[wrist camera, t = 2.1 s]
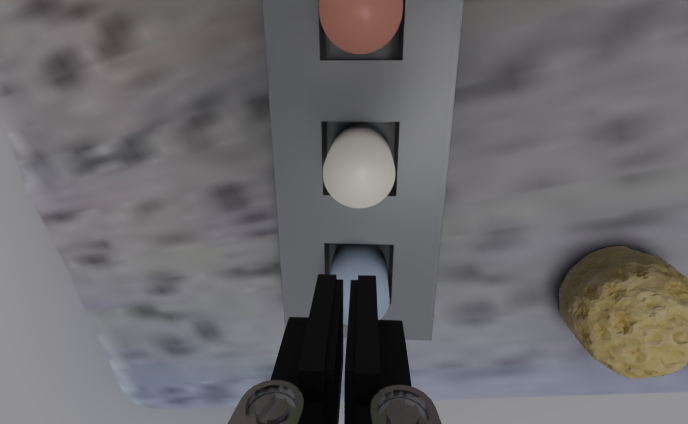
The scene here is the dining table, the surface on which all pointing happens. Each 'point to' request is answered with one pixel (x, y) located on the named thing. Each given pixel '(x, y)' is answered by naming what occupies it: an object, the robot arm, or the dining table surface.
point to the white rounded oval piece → (359, 167)
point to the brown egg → (360, 23)
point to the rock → (628, 311)
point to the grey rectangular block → (375, 110)
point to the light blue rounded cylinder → (361, 272)
